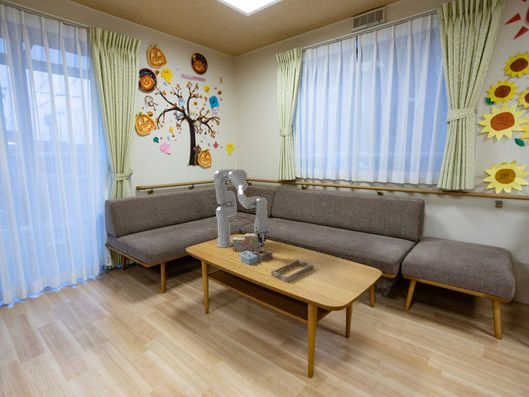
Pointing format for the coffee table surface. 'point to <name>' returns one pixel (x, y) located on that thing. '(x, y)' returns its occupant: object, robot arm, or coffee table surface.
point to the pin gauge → (262, 240)
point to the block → (249, 258)
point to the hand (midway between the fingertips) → (262, 241)
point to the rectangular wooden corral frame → (288, 266)
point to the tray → (243, 253)
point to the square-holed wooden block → (263, 254)
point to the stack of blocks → (246, 243)
